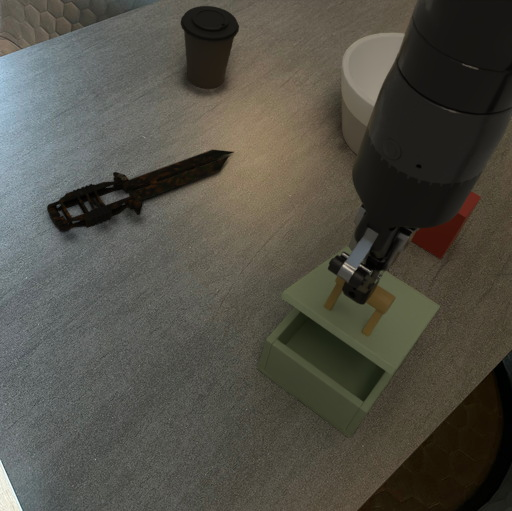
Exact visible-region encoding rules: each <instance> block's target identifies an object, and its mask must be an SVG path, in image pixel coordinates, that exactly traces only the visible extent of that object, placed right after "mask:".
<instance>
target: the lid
mask: <svg viewBox="0 0 512 511" xmlns="http://www.w3.org/2000/svg"><path fill="white" fill-rule="evenodd" d="M343 251H344V252H346V253H348V254H349V255H350V254H351V252H352V251H351V249H350V248H349V245H346V246H345V247H343V248H342V249H340V250H339V251H337V252H336V253H334V254H333V255H332V256H331V257H329V258H328V259H327V260H325V261H323V262H322V263H321V264H319V265H318V266H316V267H315V268H314V269H312V270H311V271H309V272H308V273H307V274H305V275H304V276H302V277H301V278H300V279H298V280H297V281H296V282H294V283H292V284H291V285H289V287H287V288H285V289H284V290H283V291H282V293H281V295H280V299H282V300H284V301H285V302H286V303H287V304H289V305H290V306H292V307H293V308H294V307H295V308H296V309H298V310H299V311H301V312H302V313H303V314H305V315H306V316H308V317H309V318H311V319H312V320H314V321H315V322H316V323H318V324H319V325H321V326H322V327H324V328H325V329H326V330H328V331H329V332H331V333H332V334H334V335H335V336H336V337H338V338H339V339H341V340H342V341H344V342H345V343H346V344H348V345H349V346H351V347H352V348H354V349H355V350H356V351H358V352H359V353H361V354H362V355H364V356H365V357H366V358H368V359H369V360H371V361H372V362H374V363H375V364H377V365H378V366H379V367H381V368H382V369H384V370H385V371H387V372H388V373H389V374H391V375H393V374H394V372H395V371H396V369H397V368H398V367H399V365H400V364H401V362H402V361H403V359H404V358H405V357H406V355H407V354H408V352H409V351H410V349H411V348H412V347H413V348H414V346H415V345H416V344H415V342H416V341H417V339H418V338H419V337H420V338H421V336H422V335H423V333H424V332H425V330H426V329H427V327H428V326H429V324H430V323H431V322H432V320H433V318H434V317H435V315H436V314H437V313H438V311H439V310H440V308H441V305H440V304H438V303H436V302H435V301H433V300H431V298H428V297H427V296H425V295H424V294H423V293H421V292H419V291H418V290H416V289H415V288H413V287H412V286H410V285H409V284H407V283H405V282H404V281H402V280H401V279H399V278H398V277H396V276H395V275H394V274H392V273H390V272H388V271H384V273H383V276H382V278H381V279H380V281H379V283H378V285H377V287H376V289H375V291H374V293H373V294H372V295H371V296H370V298H369V299H368V300H367V301H366V303H365V304H363V305H361V304H359V303H356V302H355V301H353V300H352V299H350V298H349V297H347V296H346V295H344V294H343V291H342V288H343V285H344V283H345V281H344V280H343V279H341V278H340V277H338V276H337V275H335V274H334V273H332V272H331V271H329V270H328V267H329V265H330V264H329V262H330V261H331V259H332V258H334V257H335V256H336V255H339V256H340V255H341V253H342V252H343ZM429 322H430V323H429ZM427 325H428V326H427ZM425 328H426V329H425ZM424 329H425V330H424ZM423 331H424V332H423ZM422 332H423V333H422ZM421 334H422V335H421ZM420 335H421V336H420ZM420 338H419V339H420ZM419 339H418V340H419ZM417 342H418V341H417ZM417 342H416V343H417ZM414 344H415V345H414ZM413 345H414V346H413ZM413 348H412V349H413ZM412 349H411V350H412ZM410 352H411V351H410ZM410 352H409V353H410ZM408 355H409V354H408ZM408 355H407V356H408ZM406 358H407V357H406ZM406 358H405V359H406ZM405 359H404V360H405ZM403 362H404V361H403ZM403 362H402V363H403ZM401 365H402V364H401ZM401 365H400V366H401ZM399 368H400V367H399ZM399 368H398V369H399ZM396 372H397V371H396ZM394 375H395V374H394ZM394 375H393V376H394Z"/></svg>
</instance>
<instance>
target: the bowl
mask: <svg viewBox="0 0 512 511" xmlns="http://www.w3.org/2000/svg"><path fill="white" fill-rule="evenodd" d="M404 35H405V32H403V33H402V32H379V33H373V34H368V35H366V36H364V37H361V38H359V39H357V40H356V41H354V42H351V45H350V46H349V47H348V48H347V49H346V50H345V52H344V54H343V56H342V58H341V69H340V70H341V73H340V74H341V78H340V79H341V80H340V81H341V82H340V83H341V88H340V89H341V134H342V137H343V139H344V141H345V144H346V145H347V146H348V148H349V149H350V150H351V151H352V152H353V153H354V154H355V155H356V156H357V154H358V151H359V148H360V145H361V142H362V140H363V137H364V134H365V131H366V128H367V125H368V123H369V120H370V117H371V114H372V111H373V108H374V106H375V103H376V100H377V97H378V94H379V91H380V89H381V86H382V84H383V82H384V80H385V78H386V76H387V74H388V72H389V70H390V69H391V67H392V65H393V63H394V61H395V59H396V56H397V54H398V52H399V49H400V46H401V43H402V41H403V38H404Z"/></svg>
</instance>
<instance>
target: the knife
mask: <svg viewBox="0 0 512 511" xmlns="http://www.w3.org/2000/svg"><path fill="white" fill-rule="evenodd" d="M233 153H235V151H231V150H230V151H229V150H221V149H210V150H207V151H204V152H201V153H199V154H195V155H193V156H190V157H188V158H185V159H182V160H178V161H176V162H173V163H171V164H167V165H165V166H161V167H159V168H157V169H154V170H152V171H149V172H146V173H143V174H140V175H137V176H135V177H132V178H130V179H129V178H128V177H127V174H124V173H121V172H117V171H114V172H112V176H113V180H111V181H102V182H99V183H96V184H94V183H93V184H92V183H90V184H89V185H88V184H86V185H85V186H81V187H78V188H76V189H73V190H71V191H69V192H66V193H65V194H64V195H63V196H62V197H60V198H59V199H58V200H56V201H53V202H51V203H49V204H47V206H46V211H47V213H48V216H49V218H50V220H51V221H52V223H53V225H54V226H55V227H56V228H57V229H58V230H59V231H60V232H65V231H69V230H70V229H73V228H79V227H86V228H90V227H94V226H95V225H96V226H97V225H99V224H102V223H103V222H107V221H110V220H112V219H111V218H112V217H113V216H116V215H118V214H120V213H122V212H123V211H124V210H125V209H126V208H129V209H130V210H132V209H133V211H134V212H135V214H136V215H138V216H139V215H140V214H141V212H142V209H143V200H146V199H149V198H151V197H154V196H156V195H157V196H158V195H159V194H162V193H165V192H167V191H170V190H173V189H175V188H178V187H180V186H184V185H186V184H188V183H191V182H194V181H196V180H199V179H202V178H204V177H207V176H209V175H211V174H214V173H217V172H220V171H221V170H222V168H223V167H224V165H225V164H226V162H227V161H228V159H229V158H230V155H231V154H233ZM111 186H112V187H111ZM121 189H122V190H124V191H125V193H128V196H127V197H124V198H121V199H118V200H116V201H113V202H110V203H108V204H105V202H103V201H102V199H101V196H103V195H106V194H110V193H112V192H115V191H118V190H121ZM85 202H88V204H89V206H90V207H91V209H90V210H89V209H88V207H87V206H86V205H85ZM77 205H78V207H79V208H80V210H81V211H82V213H81V214H79V215H75V216H73V217H72V215H71V213H70V212H69V211H68V208H71V207H73V206H77ZM95 206H96V207H95ZM60 211H61V212H62V214H63V215H61V213H60ZM73 222H74V223H73Z"/></svg>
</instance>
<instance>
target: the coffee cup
mask: <svg viewBox="0 0 512 511" xmlns="http://www.w3.org/2000/svg"><path fill="white" fill-rule="evenodd" d="M180 26H181V29H182V30H183V34H184V47H185V58H186V59H185V60H186V72H187V78H188V81H189V82H190V84H192V85H193V86H195V87H196V88H199V89H205V90H209V89H210V90H211V89H215V88H218V87H220V86H221V85H222V84H223V83H224V80H225V76H226V71H227V68H228V63H229V60H230V56H231V52H232V48H233V43H234V39H235V37H236V35H237V34H238V33H239V31H240V24H239V22H238V20H237V18H236V17H235V16H234V15H233V14H232V13H231V12H229V11H228V10H226V9H224V8H221V7H218V6H213V5H212V6H211V5H199V6H194V7H192V8H189V9H188V10H187V11H185V13H184V14H183V16H182V17H181V18H180Z"/></svg>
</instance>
